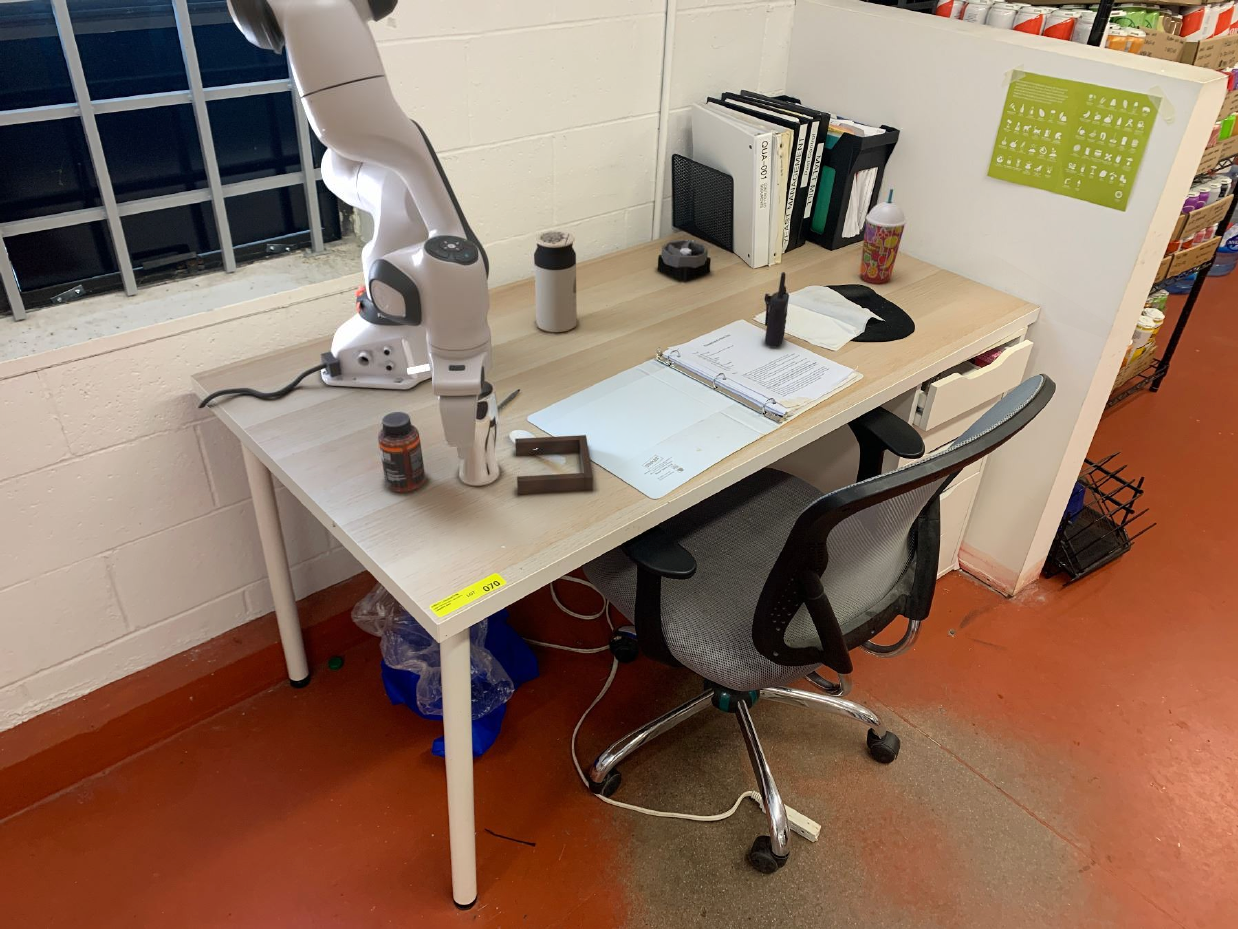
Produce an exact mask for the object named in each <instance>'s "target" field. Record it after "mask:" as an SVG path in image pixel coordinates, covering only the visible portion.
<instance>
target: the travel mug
mask: <svg viewBox="0 0 1238 929" xmlns="http://www.w3.org/2000/svg"><path fill="white" fill-rule="evenodd" d="M534 242H535V243H536V248H535V251H534V253H533V264H534V267H533V268H534V292H535V316H536V317H535V318H536V320H535V321H536V326H537V327H538V328H539V329H541V330H543V331H546V332H549V333H564V332H568V331H570V330H572V329H574V328H575V327H577V324H578V323H577V322H578V321H577V312H578V311H577V253H576V251H575V249H574V248H573V245H574V242H575V237H574V235H573V234H572V233H570V232H567V231H562V230H547V231H543V232H540V233H538V234H536V235H535V237H534Z"/></svg>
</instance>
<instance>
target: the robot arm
mask: <svg viewBox="0 0 1238 929" xmlns="http://www.w3.org/2000/svg"><path fill="white" fill-rule="evenodd" d="M398 3H399V0H226V5H227V8H228V12H229V14H230V16H231V18H232V20H233V22H234V24H235V25H236V27H237V28H238V30H240V32H241V33H242V34H243V35H244V36H245V38H246V40H247V41H248V42H249V43H251V44H253V45H255V46H256V47H259V48H260V49H265V50H274V51H273V52H274V53H275V54H278V55H282V52H283V47H285V46H286V47H285V48H286V51H287V56H288V60H289V65H290V68H291V72H292V75H293V78H294V82H295V85H296V88H297V92H298V94H299V97H300V98H301V99H300V100H301V103H302V106H303V109H304V112H305V114H306V118H307V120H308V123H309V124H310V127H311V129H312V130H313V132H314V135H315V136H316V137H317V139H318V140H319V141H320V143H321V144H323V145H324V146H325V147H326V148H327V149H326V151H325V152H324V154H323V156H322V159H321V165H320V166H321V167H320V170H321V177H322V180H323V183H324V184H325V187H326V188H327V189H328V190H329V191H331V193H333V194H334V195H335V196H336V197H338V198H339V199H340V200H342V201H343V202H344V203H346V204H347V205H349V206H351V207H354V208H356V209H360V210H362V211H364V212H367V213H369V214H371V217H372V219H373V224H374V227H373V228H374V229H373V236H372V239H370V240H369V241H368V242H367V243H366V244H365V245H364V246H363V248H362V252H361V263H362V269H363V270H362V271H363V276H364V282H365V283H364V284H365V286H364V285H360V286H359V287H357V289H356V293H355V297H356V302H355V303H356V311H357V313H356V314H354V315H353V316H352V317H350V318H349V319H348V320H347V321H346V322H345V323H343V324H342V325H340V326H339V327H338V329H337V331H336V332H335V334H334V336H333V339H332V344H331V349H330V350H329V351H327V352H324V353H320V358H321V364H319V365H316V366H314V367H312V368H308V369H307V370H305V371H304V372H302V373H301V374H300V375H299V376H297V377H296V379H295V380H293V381H292V382H291V383H289V384H287V385H286V386H285V387H284V388H282V389H280V390H277V391H276V390H275V391H273V392H262V391H259V390H257V389H253V388H250V387H237V388H226V389H221V390H218V391H214V392H212V393H211V394H209V395H208V396H206V397H205V398H204V399H203V400H202V401H201V402H200V403H199V405H198V407H197V409H203V408H205V407H206V406H207V404H209V403H210V402H211V401H213V400H214V399H216V398H218V397H221V396H226V395H233V394H251V395H253V396H255V397H259V398H262V399H271V398H277V397H280V396H283V395H284V394H286V393H288V392H289V391H291V390H292V389H293V388H295V387H296V386H297V385H299V384H300V383H301V382H302V381H303V380H304V379H305V378H307V377H309V376H310V375H313V374H314V373H316V372H318V371H319V372H320V373H321V379H322V381H323V382H324V383H325V384H326V385H328V386H335V387H351V388H352V387H353V388H370V389H371V388H372V389H373V388H374V389H387V390H388V389H389V390H409V389H412V388H413V387H416V385H418V384H419V383H421V382H423V381H425V380H428V379H431V388H432V393H433V394H432V395H434V396H437V398H438V399H437V400H438V408H439V414H440V419H441V424H442V431H443V434H444V435H443V436H444V439H445V442H446V444H447V445H448V447H450V448H451V447H452V448H456V449H457V457H458V459H459V460H460V459H470V458H471V446H472V445H473V444H474V440H475V427H476V412H477V402H478V396H479V394H481V392H482V388H483V383H484V380H486V378H487V376H488V373H489V372H490V371H491V369H492V368H493V364H494V363H493V346H492V332H491V327H490V325H489V322H488V314H489V310H490V296H489V284H488V283H489V282H488V280H489V276H490V275H489V274H490V261H489V257H488V254H487V251H486V250H485V248H484V246H483V245H482V243H481V241H480V239H479V238H478V237H477V235H476V234H475V232H474V231H473V229H472V227H471V226H470V224H469V222H468V220H467V218H466V216H465V214H464V212H463V209H462V207H461V205H460V203H459V201H458V199H457V196H456V194H455V192H454V190H453V187H452V185H451V183H450V180H449V178H448V176H447V174H446V172H445V170H444V167H443V166H442V164H441V161H440V159H439V157H438V155H437V153H436V151H435V148H434V147H433V145H432V142H431V141H430V139H429V137H428V135H427V134H426V132H425V130H424V129H423V128H422V127H421V125H420V124H419V123H418V122H417V121H415V120H414V119H412V118H410V117H409V116H407V114H406V113H405V112H404V110H403V109H402V107H401V106H400V105H399V103H398V101H397V100H396V98H395V96H394V95H393V91H392V89H391V85H390V82H389V79H388V76H387V73H386V71H385V67H384V64H383V61H382V58H381V54H380V52H379V49H378V46H377V43H376V40H375V38H374V35H373V32H372V29H371V28H370V25H369V23H368V22H371V21H374V22H375V23H378V22H379V21H381V20H383V19H384V18H387V17H388V16H389V15H391V14H392V13H393V12H394V11H395V9H396V7H397V5H398Z"/></svg>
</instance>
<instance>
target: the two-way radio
mask: <svg viewBox="0 0 1238 929" xmlns="http://www.w3.org/2000/svg"><path fill="white" fill-rule="evenodd" d="M785 283H786V272H785V271H782V272H781V273H780V279H779V286H778V291H776V292H774V293H773V294H772V295H770V293H765V294H764V302H765V319H764V326H765V327H766V329H765V338H764V343H765V345H767V346H768V347H771V348H780V347H781V345H782V344H783V341H784V338H785V333H786V324H787V317H788V305H789V298H790V294H789V293H788V292H787V286H786V284H785Z"/></svg>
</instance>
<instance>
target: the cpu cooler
mask: <svg viewBox="0 0 1238 929" xmlns="http://www.w3.org/2000/svg"><path fill="white" fill-rule="evenodd" d="M661 246H662V247H661V254H659V255H658V257H657V271H658V272H660V273H661V274H664V275H666V276H669V277H671V278H673V279H675V280H677V281H678V282H681V281H684V282H688V281H690V280H694V279H696V278H697V279H698V278H699V277H700V278H701V277H702V276H706V275H708V274H710V273H711V272H710V271H711V260H712V259H711V257H709V256H708V253H709V252H708V251H709V248H708V247H706V245H705V244H703V243H701V242H699V241H697V240H694V239H686V238H684V239H680V240H670V241H668V242H666V243H664V244H662V245H661Z"/></svg>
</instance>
